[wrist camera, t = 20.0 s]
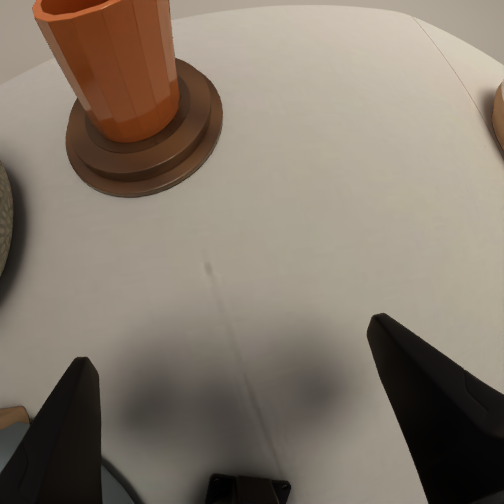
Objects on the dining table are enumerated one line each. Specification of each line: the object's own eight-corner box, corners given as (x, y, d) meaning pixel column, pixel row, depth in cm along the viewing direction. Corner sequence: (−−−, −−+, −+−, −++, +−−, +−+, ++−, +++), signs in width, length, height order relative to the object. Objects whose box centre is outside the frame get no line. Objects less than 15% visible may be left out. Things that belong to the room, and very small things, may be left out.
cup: (198, 94, 23) (195, -40, 10) (137, 159, 21) (80, 32, 9) (135, 62, 23) (109, -53, 10) (77, 119, 21) (13, 11, 9)
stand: (198, 213, 24) (196, 202, 21) (46, 183, 23) (32, 172, 20) (238, 75, 26) (240, 57, 24) (105, 61, 25) (99, 45, 23)
